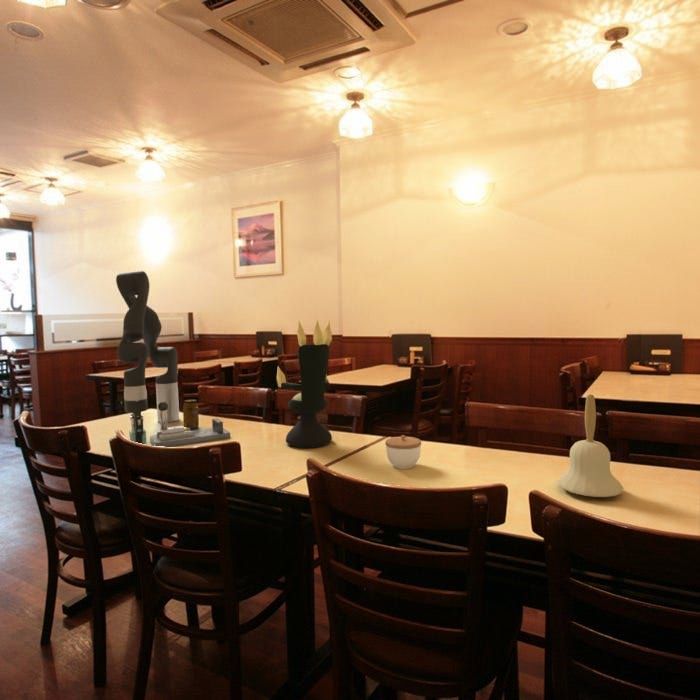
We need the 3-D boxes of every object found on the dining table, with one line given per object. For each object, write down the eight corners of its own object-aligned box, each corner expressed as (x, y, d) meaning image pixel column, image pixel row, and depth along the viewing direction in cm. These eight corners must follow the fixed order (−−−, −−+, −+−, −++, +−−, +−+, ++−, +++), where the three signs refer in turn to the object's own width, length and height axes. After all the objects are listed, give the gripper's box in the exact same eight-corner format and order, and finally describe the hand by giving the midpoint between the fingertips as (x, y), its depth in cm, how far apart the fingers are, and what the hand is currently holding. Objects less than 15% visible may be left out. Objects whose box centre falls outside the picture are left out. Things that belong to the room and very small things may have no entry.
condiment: (196, 426, 215) (195, 398, 214) (204, 429, 208) (203, 400, 208) (179, 428, 210) (178, 400, 209) (187, 432, 204) (185, 403, 203)
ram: (158, 436, 188) (156, 401, 187) (186, 432, 193) (184, 398, 192) (160, 438, 184) (158, 402, 183) (188, 434, 189) (187, 399, 188)
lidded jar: (385, 460, 158) (384, 431, 158) (419, 460, 158) (419, 430, 157) (386, 471, 148) (386, 440, 147) (423, 471, 147) (422, 439, 147)
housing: (130, 446, 183) (129, 430, 183) (144, 444, 186) (143, 428, 185) (131, 449, 179) (130, 432, 179) (146, 447, 181) (145, 430, 181)
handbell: (637, 501, 121) (639, 398, 119) (577, 504, 119) (578, 400, 117) (599, 480, 136) (600, 388, 134) (545, 483, 135) (546, 390, 133)
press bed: (150, 441, 190) (149, 425, 190) (221, 431, 204) (220, 416, 203) (155, 448, 179) (155, 432, 179) (230, 437, 193) (229, 422, 192)
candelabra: (324, 434, 195) (321, 318, 191) (349, 447, 175) (346, 318, 171) (277, 440, 187) (273, 319, 183) (297, 455, 167) (293, 319, 163)
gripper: (122, 396, 185) (124, 441, 187) (126, 401, 173) (129, 450, 174) (144, 394, 189) (146, 438, 190) (149, 399, 177) (152, 447, 178)
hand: (138, 444), depth 182 cm, fingers closed on housing, 5 cm apart
